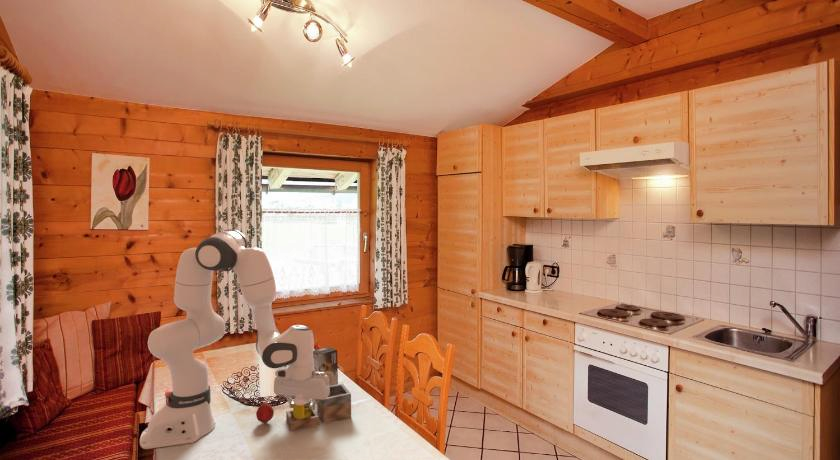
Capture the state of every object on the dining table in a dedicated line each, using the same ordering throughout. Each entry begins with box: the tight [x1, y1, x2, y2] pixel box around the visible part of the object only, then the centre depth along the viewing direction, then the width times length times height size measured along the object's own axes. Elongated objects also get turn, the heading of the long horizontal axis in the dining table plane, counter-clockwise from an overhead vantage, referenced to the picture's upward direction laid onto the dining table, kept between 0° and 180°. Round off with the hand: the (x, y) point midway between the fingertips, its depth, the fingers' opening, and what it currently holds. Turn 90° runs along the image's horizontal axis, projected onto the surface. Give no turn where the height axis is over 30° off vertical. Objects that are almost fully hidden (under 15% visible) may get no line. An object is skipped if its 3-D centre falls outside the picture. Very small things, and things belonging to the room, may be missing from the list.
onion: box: [255, 401, 275, 424], centre depth 157 cm, size 6×6×8 cm
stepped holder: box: [285, 383, 352, 432], centre depth 161 cm, size 21×10×9 cm, turn 117°
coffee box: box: [313, 346, 339, 386], centre depth 187 cm, size 9×6×16 cm
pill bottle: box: [292, 394, 312, 421], centre depth 158 cm, size 6×6×11 cm
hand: (302, 408), depth 158 cm, fingers closed on pill bottle, 6 cm apart
